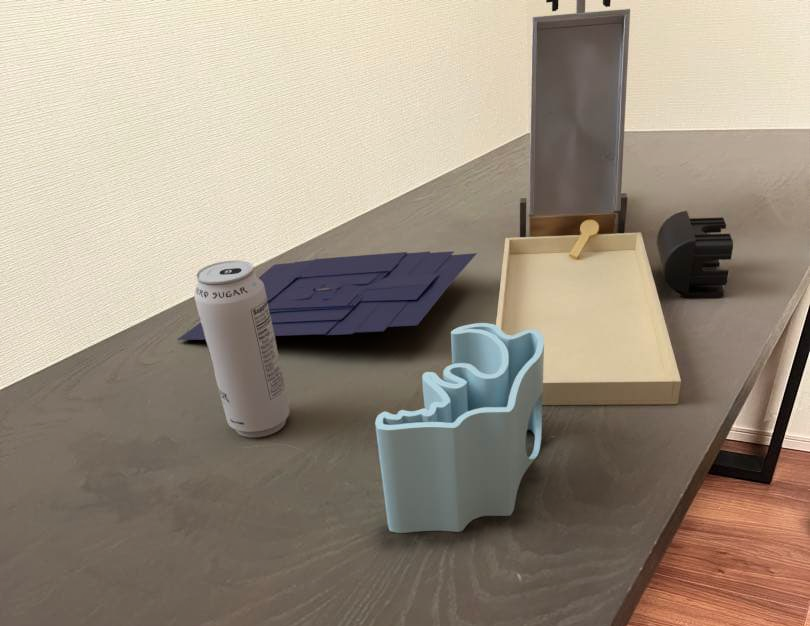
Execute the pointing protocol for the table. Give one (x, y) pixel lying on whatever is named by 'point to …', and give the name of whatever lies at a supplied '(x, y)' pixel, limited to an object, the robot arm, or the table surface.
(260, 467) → the table surface
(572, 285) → the tray
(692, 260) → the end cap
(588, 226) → the key
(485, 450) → the squiggly pen holder
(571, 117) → the dish
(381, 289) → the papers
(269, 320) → the energy drink can
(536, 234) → the dish stand
